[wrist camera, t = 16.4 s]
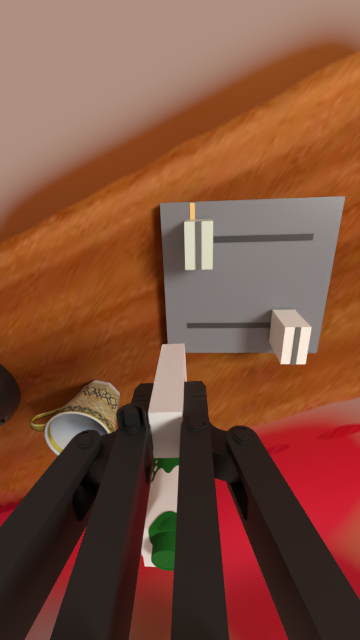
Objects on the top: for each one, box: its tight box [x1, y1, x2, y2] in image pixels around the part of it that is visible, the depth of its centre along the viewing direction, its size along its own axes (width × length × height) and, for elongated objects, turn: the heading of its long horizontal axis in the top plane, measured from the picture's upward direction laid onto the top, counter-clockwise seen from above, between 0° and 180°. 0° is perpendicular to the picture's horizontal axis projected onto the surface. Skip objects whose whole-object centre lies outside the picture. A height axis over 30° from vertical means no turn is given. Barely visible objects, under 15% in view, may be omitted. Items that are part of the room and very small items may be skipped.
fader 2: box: [269, 309, 312, 365], centre depth 35 cm, size 3×5×6 cm, turn 2°
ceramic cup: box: [30, 380, 120, 455], centre depth 43 cm, size 13×10×10 cm
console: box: [160, 196, 345, 353], centre depth 37 cm, size 22×21×2 cm
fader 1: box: [184, 219, 213, 270], centre depth 31 cm, size 3×5×6 cm, turn 2°
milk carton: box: [141, 455, 179, 571], centre depth 41 cm, size 9×9×20 cm
